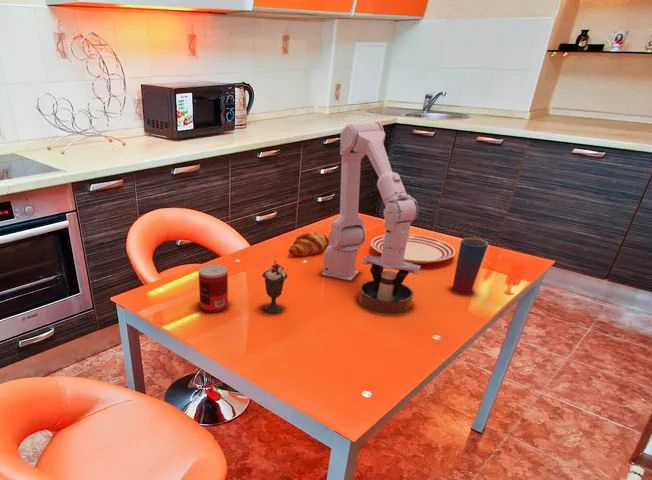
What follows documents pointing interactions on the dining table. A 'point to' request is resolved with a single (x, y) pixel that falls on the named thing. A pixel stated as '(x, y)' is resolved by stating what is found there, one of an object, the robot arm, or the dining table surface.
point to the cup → (468, 264)
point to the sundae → (274, 286)
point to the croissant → (309, 244)
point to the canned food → (213, 287)
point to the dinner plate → (420, 249)
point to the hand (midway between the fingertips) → (385, 292)
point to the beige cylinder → (386, 286)
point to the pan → (390, 307)
